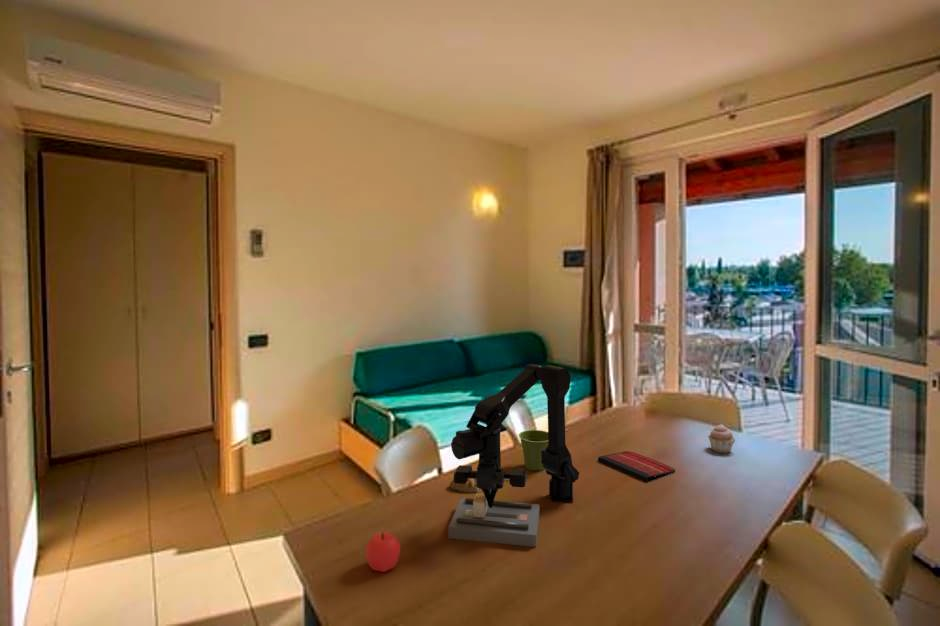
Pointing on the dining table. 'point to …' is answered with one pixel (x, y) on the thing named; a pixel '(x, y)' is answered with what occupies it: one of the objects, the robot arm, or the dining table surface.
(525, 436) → the plant pot
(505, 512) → the slide switch base
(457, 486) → the pastry
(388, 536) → the apple
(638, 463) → the binder
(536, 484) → the dining table surface
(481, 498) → the switch knob
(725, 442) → the cupcake
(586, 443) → the dining table surface
